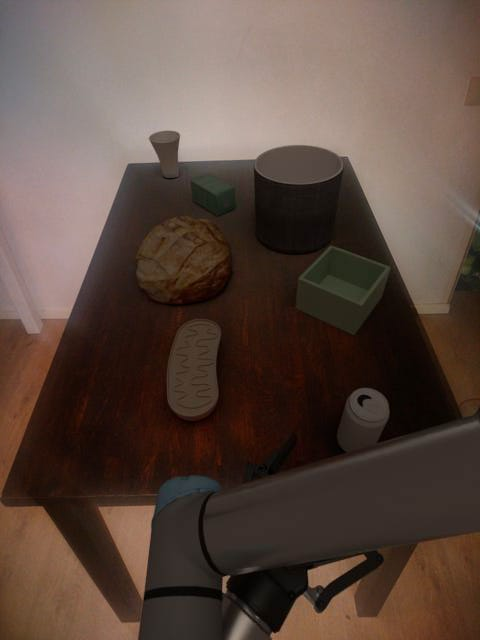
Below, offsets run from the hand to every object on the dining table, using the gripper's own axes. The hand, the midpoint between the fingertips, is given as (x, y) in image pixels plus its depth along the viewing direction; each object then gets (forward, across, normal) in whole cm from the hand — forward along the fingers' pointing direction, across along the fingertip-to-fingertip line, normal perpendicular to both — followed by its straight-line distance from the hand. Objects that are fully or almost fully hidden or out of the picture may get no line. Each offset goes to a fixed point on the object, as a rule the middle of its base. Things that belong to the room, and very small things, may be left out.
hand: (336, 464), depth 55 cm
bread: (+26, -55, -8) cm, 61 cm away
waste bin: (+38, -18, -8) cm, 43 cm away
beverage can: (+9, 0, -8) cm, 12 cm away
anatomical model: (+3, -31, -8) cm, 32 cm away
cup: (+64, -98, -8) cm, 117 cm away
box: (+56, -71, -8) cm, 91 cm away
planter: (+57, -42, -8) cm, 71 cm away
